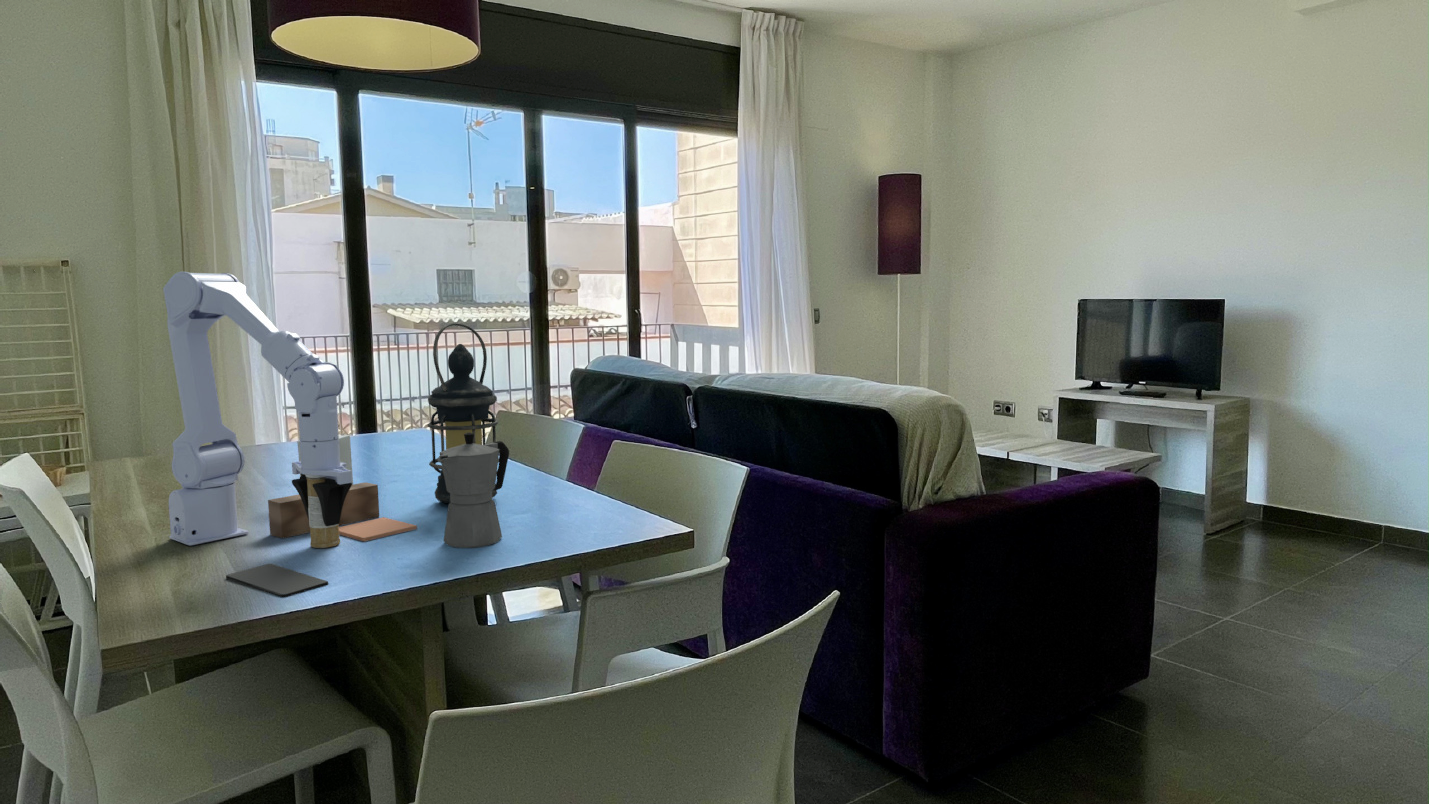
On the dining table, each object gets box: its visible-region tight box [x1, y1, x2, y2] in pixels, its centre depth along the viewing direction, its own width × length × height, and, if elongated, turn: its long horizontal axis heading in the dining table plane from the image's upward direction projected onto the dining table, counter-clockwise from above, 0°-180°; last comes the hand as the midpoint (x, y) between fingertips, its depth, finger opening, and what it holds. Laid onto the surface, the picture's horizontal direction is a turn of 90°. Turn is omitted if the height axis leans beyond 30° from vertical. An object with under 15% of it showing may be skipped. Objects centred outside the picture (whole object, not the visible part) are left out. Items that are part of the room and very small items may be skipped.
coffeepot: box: [436, 432, 510, 549], centre depth 146 cm, size 15×9×18 cm, turn 150°
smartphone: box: [225, 563, 329, 598], centre depth 125 cm, size 7×1×15 cm
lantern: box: [427, 322, 499, 504], centre depth 172 cm, size 14×13×35 cm
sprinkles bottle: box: [305, 475, 341, 549], centre depth 143 cm, size 5×5×13 cm
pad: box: [339, 516, 418, 542], centre depth 153 cm, size 10×10×1 cm
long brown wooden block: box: [267, 482, 380, 539], centre depth 156 cm, size 18×4×6 cm, turn 143°
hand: (324, 522), depth 143 cm, fingers closed on sprinkles bottle, 4 cm apart
